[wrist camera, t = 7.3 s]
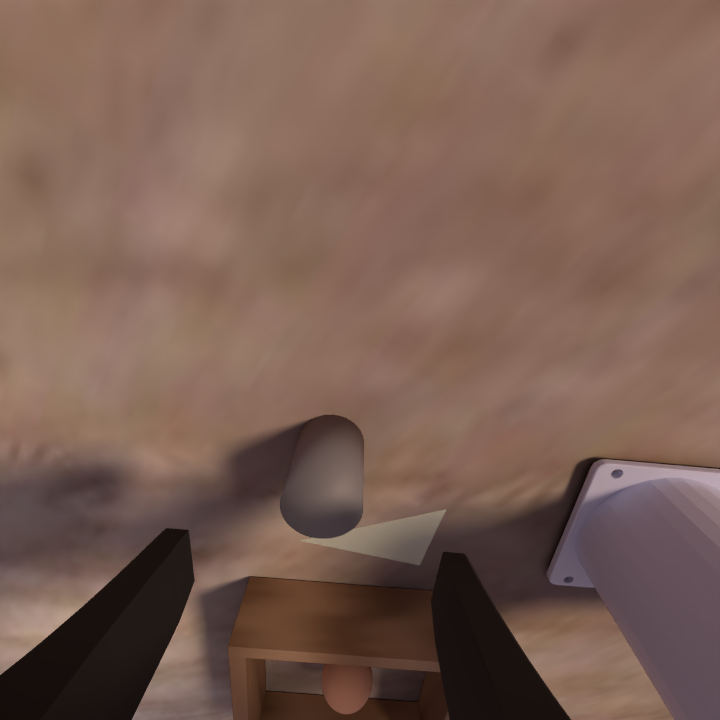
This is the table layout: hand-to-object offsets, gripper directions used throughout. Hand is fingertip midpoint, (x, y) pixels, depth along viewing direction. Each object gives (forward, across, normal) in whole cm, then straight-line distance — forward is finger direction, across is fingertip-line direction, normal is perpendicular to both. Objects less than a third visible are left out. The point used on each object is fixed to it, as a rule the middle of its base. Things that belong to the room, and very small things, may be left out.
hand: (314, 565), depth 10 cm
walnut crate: (+7, -2, +16) cm, 17 cm away
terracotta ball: (+7, -2, +16) cm, 17 cm away
